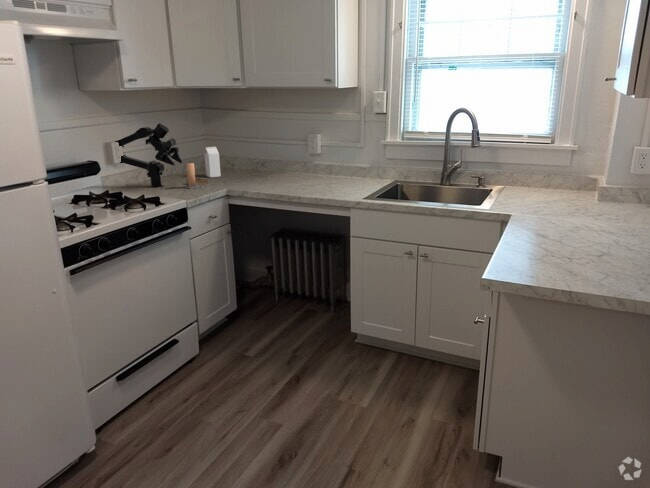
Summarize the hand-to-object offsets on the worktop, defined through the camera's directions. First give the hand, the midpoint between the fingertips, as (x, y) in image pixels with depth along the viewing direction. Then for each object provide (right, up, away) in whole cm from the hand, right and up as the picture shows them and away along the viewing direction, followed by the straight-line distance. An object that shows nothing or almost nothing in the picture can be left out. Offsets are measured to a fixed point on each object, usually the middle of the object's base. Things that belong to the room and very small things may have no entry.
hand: (177, 163), depth 286 cm
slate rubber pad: (+8, -13, +3) cm, 16 cm away
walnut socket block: (+8, -10, +14) cm, 19 cm away
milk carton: (+12, -2, +38) cm, 40 cm away
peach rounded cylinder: (+7, -13, +2) cm, 15 cm away
